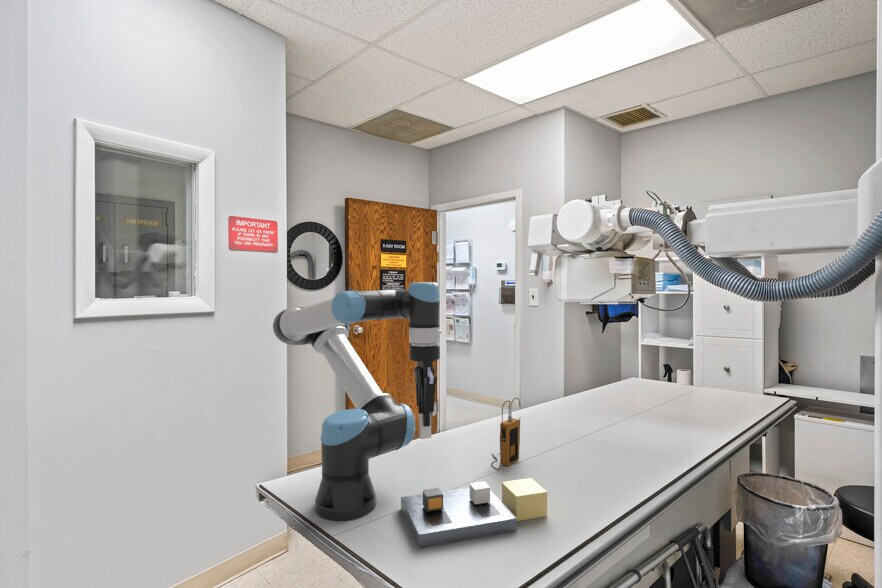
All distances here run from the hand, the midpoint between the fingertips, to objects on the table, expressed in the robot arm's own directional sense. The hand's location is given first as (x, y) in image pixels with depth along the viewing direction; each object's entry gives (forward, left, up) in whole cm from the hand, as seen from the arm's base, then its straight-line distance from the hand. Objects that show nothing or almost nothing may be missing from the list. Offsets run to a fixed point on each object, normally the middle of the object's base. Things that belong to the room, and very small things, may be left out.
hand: (425, 437), depth 118 cm
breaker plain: (+12, -7, -14) cm, 20 cm away
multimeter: (+31, +23, -18) cm, 43 cm away
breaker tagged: (0, -7, -14) cm, 16 cm away
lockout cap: (+23, -9, -18) cm, 30 cm away
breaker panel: (+5, -8, -18) cm, 20 cm away
